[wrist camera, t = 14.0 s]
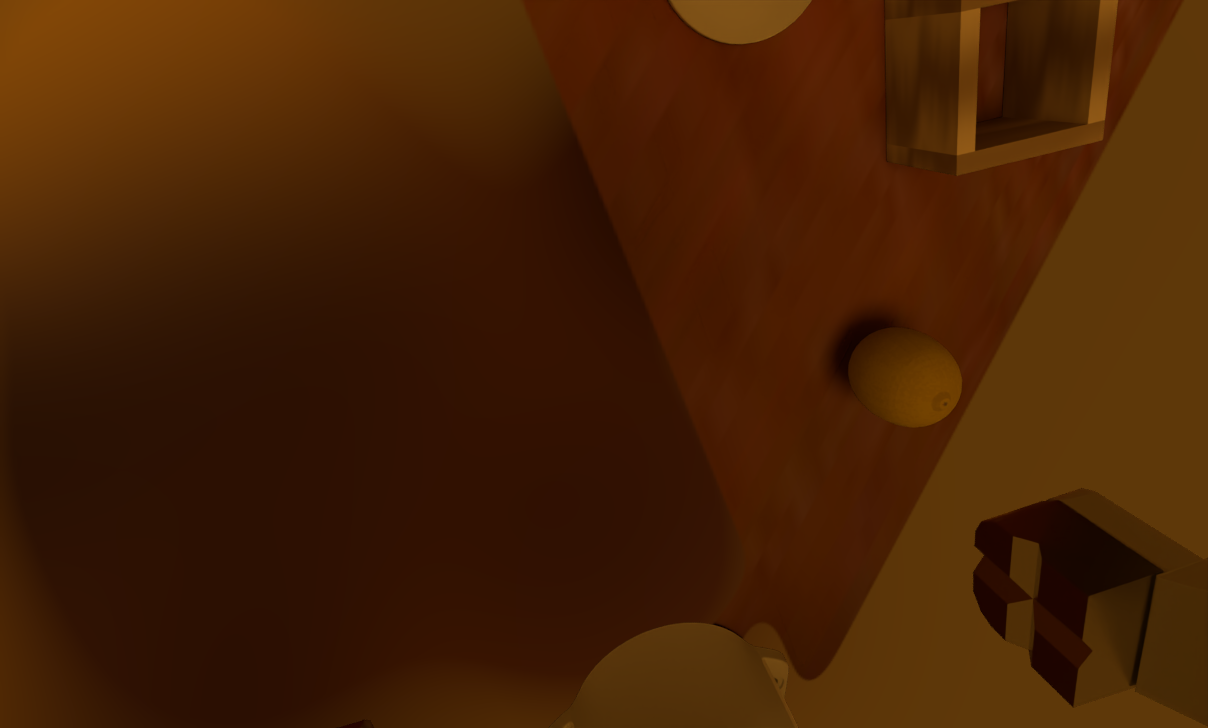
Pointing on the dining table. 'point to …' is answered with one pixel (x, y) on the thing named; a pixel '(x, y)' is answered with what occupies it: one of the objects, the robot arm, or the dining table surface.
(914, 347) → the lemon
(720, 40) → the coaster
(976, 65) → the oak sleeve
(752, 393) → the dining table surface
